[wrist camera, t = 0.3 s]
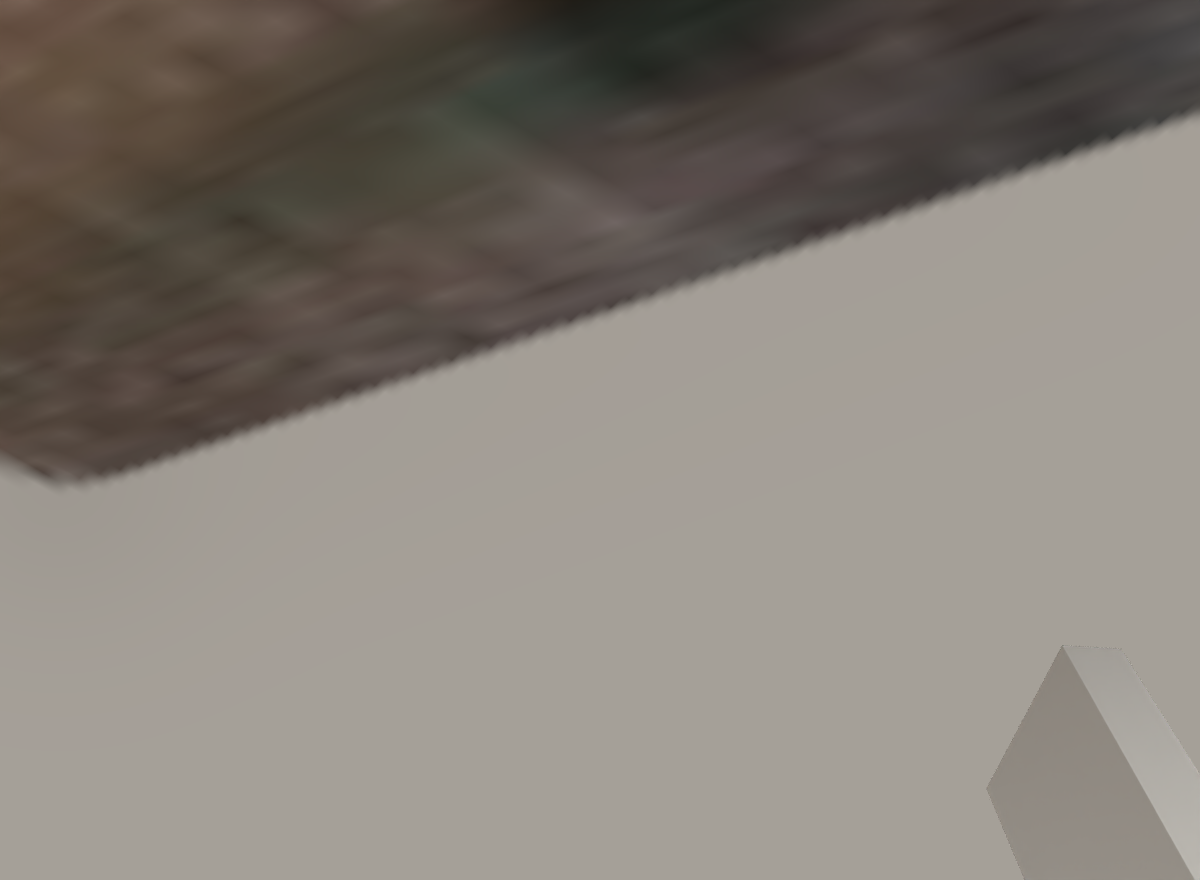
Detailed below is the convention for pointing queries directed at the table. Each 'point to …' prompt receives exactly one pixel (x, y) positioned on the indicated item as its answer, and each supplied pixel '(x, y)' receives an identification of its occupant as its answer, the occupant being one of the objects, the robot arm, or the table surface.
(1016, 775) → the robot arm
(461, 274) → the table surface
